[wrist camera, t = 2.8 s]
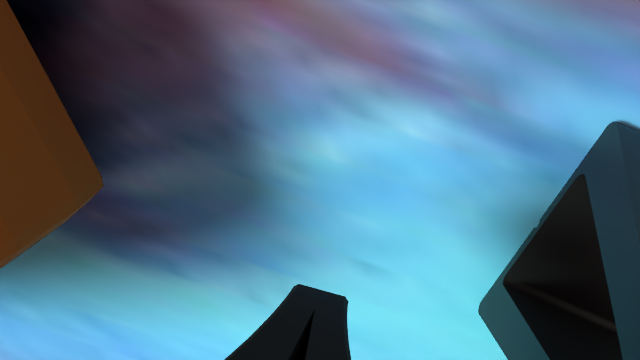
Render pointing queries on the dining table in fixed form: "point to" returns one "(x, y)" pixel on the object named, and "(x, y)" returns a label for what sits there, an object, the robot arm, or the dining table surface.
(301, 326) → the robot arm
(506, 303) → the phone stand
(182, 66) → the dining table surface
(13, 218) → the orange tape measure
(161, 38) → the dining table surface
